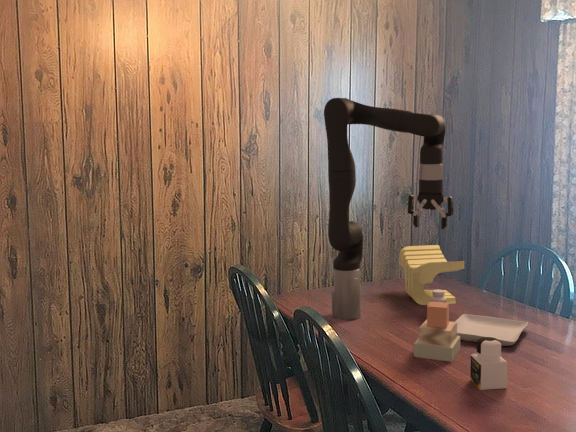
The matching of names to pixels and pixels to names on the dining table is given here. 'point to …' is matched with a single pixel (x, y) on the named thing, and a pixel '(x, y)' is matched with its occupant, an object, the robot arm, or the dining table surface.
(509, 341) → the salad plate
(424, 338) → the top block
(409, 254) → the slatted curved stool
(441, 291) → the supplement bottle
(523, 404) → the dining table surface
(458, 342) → the base block
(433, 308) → the cube
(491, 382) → the medicine bottle
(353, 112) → the robot arm
